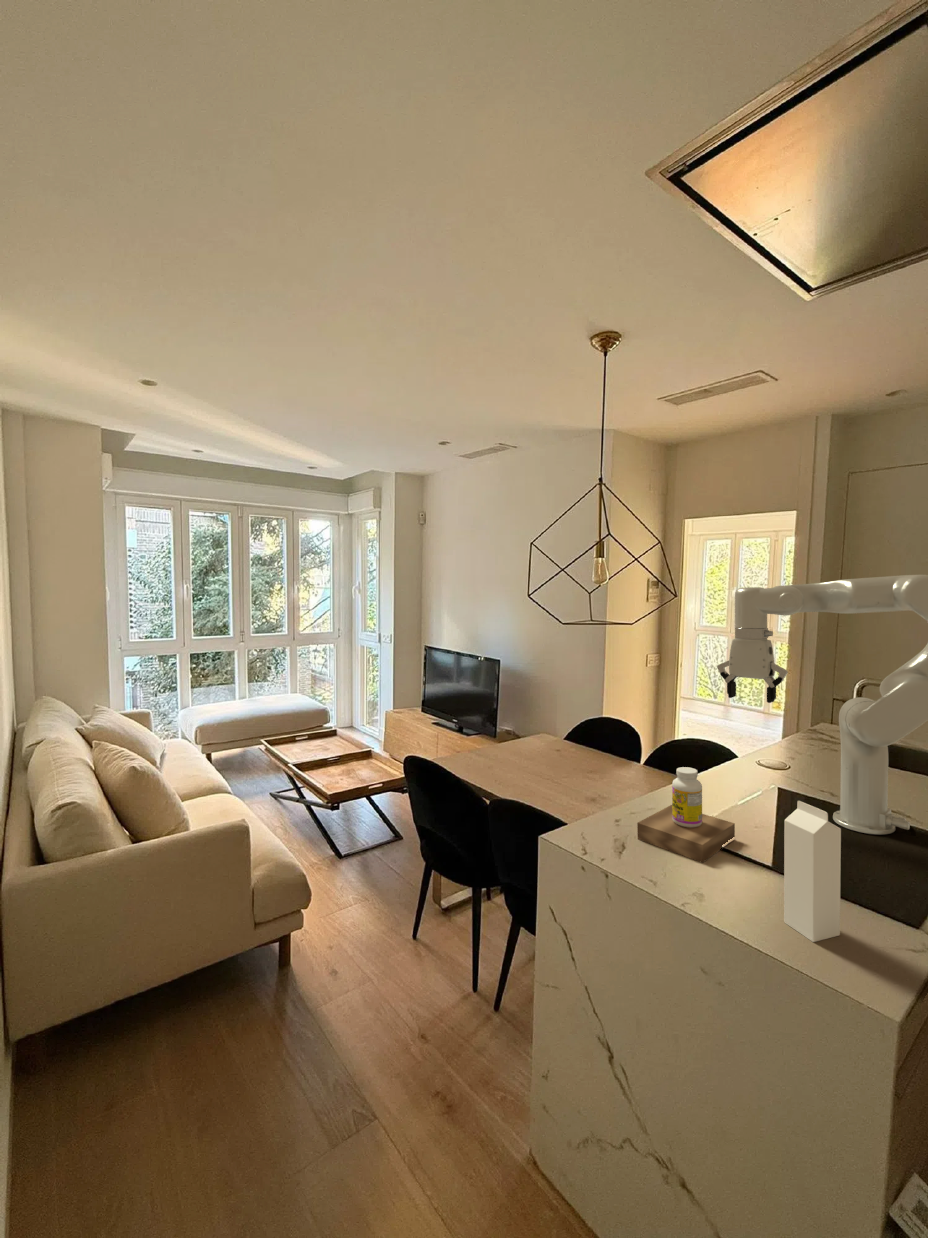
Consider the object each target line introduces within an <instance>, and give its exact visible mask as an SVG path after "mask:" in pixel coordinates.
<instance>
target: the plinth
mask: <svg viewBox="0 0 928 1238" xmlns="http://www.w3.org/2000/svg"><path fill="white" fill-rule="evenodd" d="M636 824H637V826H636V827H637V839H638V840H639V841H642V842H645V843H647V844H650V845H653V846H656V847H659V848H661V849H664V850H667V851H669V852H672V853H675V854H678V855H680V856H682V857H686V858H688V859H691V860H694V861H696V862H699V863H704V862H706V861H707V860H708V859H710V858H711V857H713V856H714V855H715V854H717V853H718V852H719V851H721V850H722V849H721V847H722V845H723V844H725V843H726V842H728V840H730V839H732V838H733V837H736V835H735V833H736V828H735V824H736V823H734V822H731V821H728V820H724V819H722V818H717V817H715V816H711V815H708V814H705V813H702V824H701V825H700V826H698V827H693V828H689V827H683V826H680V825H678V824H676V823H675V822H674V821H673V819H672V804H670V805H668V806H667V807H664V808H662V809H660V810H659V811H656V812H655V813H654V814H651V815H650V816H648V817H646V818H643V819H642V820H639V822H637V823H636ZM720 849H721V850H720Z"/></svg>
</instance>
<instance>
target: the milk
mask: <svg viewBox="0 0 928 1238" xmlns="http://www.w3.org/2000/svg"><path fill="white" fill-rule="evenodd" d="M796 807H797V808H796V809H795V810H794V811H793V812H792V813H791V814H789V815H788V816H787V817H786V818H785V819H784V831H783V832H784V833H783V834H784V835H783V836H784V840H783V841H784V844H783V845H784V846H783V847H784V854H783V855H784V856H783V857H784V860H783V861H784V864H783V867H784V868H783V869H784V870H783V873H784V875H783V876H784V883H783V888H784V889H783V894H784V895H783V899H784V900H783V906H784V907H783V909H784V910H783V913H784V914H783V922H784V923H785V924H786V925H788V927H790V928H792V929H794V931H796V932H797V933H799V934H800V935H801V936H803V937H805V939H808V940H809V941H811V942H812V943H816V942H819V941H824V940H827V939H830V938H831V939H832V938H834V937H838V936H840V935H841V871H842V870H841V866H842V865H841V859H842V858H841V854H842V851H841V850H842V849H841V848H842V828H841V827H838V826H837V825H835V824H833V823H832V822H830V821H829V813H828V812H827V811H825V810H822V809H821V808H818V807H816V806H813V805H810V804H808V803H806V802H803V801H801V800H797V806H796Z"/></svg>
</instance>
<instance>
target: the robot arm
mask: <svg viewBox="0 0 928 1238" xmlns="http://www.w3.org/2000/svg"><path fill="white" fill-rule="evenodd" d="M906 611H909V612H910V611H911V612H914V613H915V614H917V615H918V616H920V617H921V618H922V619H924V620H925V621H927V622H928V574H904V575H887V576H877V577H862V578H861V577H859V578H848V579H847V578H846V579H838V580H832V581H826V582H814V583H802V584H788V585H787V584H786V585H785V584H784V585H776V586H774V587H766V588H764V587H761V586H760V587H759V586H756V587H755V586H754V587H752V586H751V587H748V586H747V587H740V588H737V589H736V590H735V592H734V638H733V639H732V642H731V644H730V651H729V658H728V659H729V660H726V661H725V662H722V663H720V664H718V665H716V668H717V670H718V672H719V673H720V674H719V675H720V676H721V678H722V679H724V682H725V683H726V693H727V694H728V695H727V696H728V698H729V699H731V698H732V699H733V698H735V697H737V682H736V681H735V680H736V679H737V678H745V679H753V680H764V682H765V683H766V684H767V685H768V686H767V687H766V702H767V703H768V704H772V703H773V702H775V700H776V699H777V686H779V685H780V684H781V683H782V682H784V680H785V678H786V676H788V673H789V672H788V671H789V670H786V669H785V668H783V667H781V665H780V666H779V664H777V663H775V654H774V649H773V644H772V640H771V639H768V638H770V637H773V636H774V632H773V630H769V627H768V615H776V616H783V617H785V616H786V617H787V616H792V615H795V614H798V613H799V614H800V613H820V612H821V613H833V614H834V613H835V614H864V613H865V614H866V613H867V614H868V613H884V612H885V613H886V612H888V613H889V612H906ZM727 667H728V672H727V671H726V668H727ZM776 673H778V676H777V677H776V678H775V677H774V676H775V674H776ZM879 693H880V695H881V696H880V697H879V698H878V699H876V700H874V699H871V698H868V697H863V696H862V697H861V696H860V697H854V698H850V699H849V700H847V701H845V703H843V705H842V706H841V707H840V709H839V713H838V714H839V715H838V727H839V735H840V795H839V796H840V802H839V803H840V804H839V805H840V807H839V810H836V811H834V812H833V815H832V819H833V821H834V822H835V823H836V824H838V825H839V826H841V827H843V828H845V829H848V830H851V831H854V832H858V833H864V834H868V835H880V836H881V835H890V834H893V833H894V832H895V831H896V827H897V828H899V829H902V830H903V829H904V830H907V831H908V830H910V828H911V827H910V826H911V822H910V821H908V820H907V819H906V818H905V817H901V816H896V815H895V814H893V813H892V809H891V808H889V805H888V803H889V802H888V801H889V799H888V797H889V796H888V794H889V788H888V787H889V784H888V783H889V747H888V746H890V745H894V744H895V743H897V742H898V741H900V740H902V739H903V738H906V736H908V735H910V734H911V733H912V732H914V731H915V730H916V729H918V728H919V727H921V726H922V725H924V724H925V723H927V722H928V642H927V644H926V645H925V646H924V647H923V649H922V650H921V651H919V652H918V653H917V654H916V655H915V656H913V657H912V658H911V659H909V660H908V661H907V662H906V663H905V662H904V664H903V665H901V666H899V668H897V669H895V670H894V671H893V672H891V673H890V674H888V675H887V676H886V677H885V678H884V679H883V680H882V681H881V682H880V685H879Z"/></svg>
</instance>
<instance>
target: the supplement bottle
mask: <svg viewBox="0 0 928 1238" xmlns="http://www.w3.org/2000/svg"><path fill="white" fill-rule="evenodd" d="M675 775H676V776H677V777H676V778H674V779H673V780H672V784H671V790H672V792H671V793H672V794H671V795H672V797H671V799H672V801H671V805H672V819H673V821H674V822H675V823H676V824H678V825H680V826H683V827H689V828H693V827H698V826H700V825H701V824H702V814H703V784H702V783H701V781H700V780H698V779H697V778H698V777H699V775H698V769H696V768H693V767H688V766H687V767H686V766H685V767H684V766H682V767H677V768H676V773H675Z"/></svg>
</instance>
